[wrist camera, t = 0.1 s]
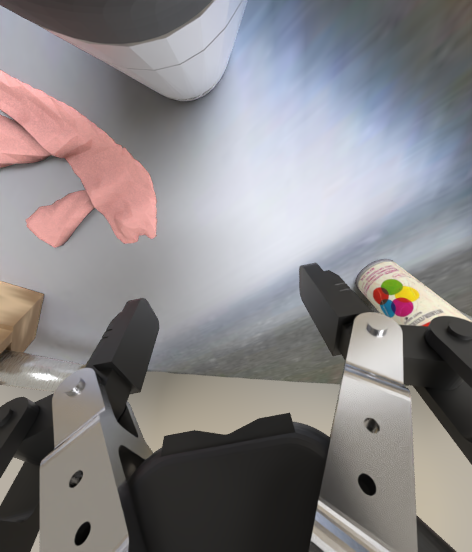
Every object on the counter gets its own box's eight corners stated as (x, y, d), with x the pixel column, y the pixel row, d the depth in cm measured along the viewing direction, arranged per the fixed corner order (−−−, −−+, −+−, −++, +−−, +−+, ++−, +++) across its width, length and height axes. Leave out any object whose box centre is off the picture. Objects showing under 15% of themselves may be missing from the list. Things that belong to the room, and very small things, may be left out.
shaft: (-16, 352, 28) (-54, 391, 24) (-16, 331, 26) (-58, 371, 22) (114, 376, 36) (102, 409, 31) (124, 361, 33) (111, 395, 29)
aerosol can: (378, 253, 32) (543, 381, 16) (404, 266, 34) (569, 390, 19) (347, 284, 35) (457, 414, 20) (372, 294, 38) (489, 417, 22)
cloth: (179, 241, 28) (177, 250, 26) (27, 269, 28) (14, 280, 26) (94, 7, 15) (78, -9, 13) (-180, 61, 16) (-235, 52, 14)
